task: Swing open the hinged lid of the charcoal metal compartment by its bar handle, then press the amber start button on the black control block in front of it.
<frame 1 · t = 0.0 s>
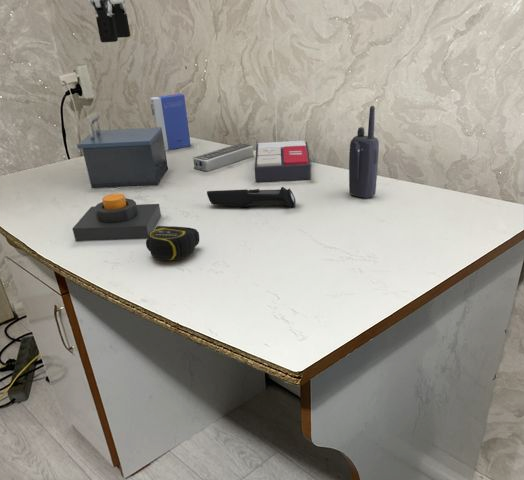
hand: (116, 39, 105), 25 cm above the table, tool pointing down, fingers open, 9 cm apart
compartment lid: (119, 126, 107), point 10 cm above the table, hinge at 0.0°
electric trimmer: (253, 207, 95), on the table
tape measure: (173, 254, 80), on the table
compartment: (131, 178, 113), on the table
start button: (114, 202, 87), point 4 cm above the table, slide at 0.1 cm
multiport hub: (224, 163, 119), on the table
control block: (120, 228, 90), on the table
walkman: (174, 148, 132), on the table
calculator: (282, 171, 112), on the table
two-way radio: (359, 197, 96), on the table
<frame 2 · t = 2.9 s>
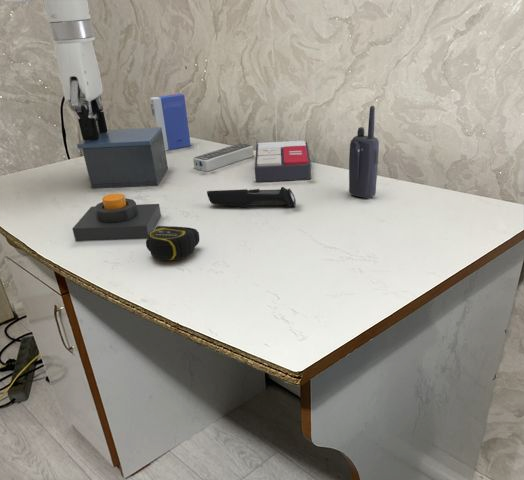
hand: (95, 135, 108), 9 cm above the table, tool pointing down, fingers closed on compartment lid, 5 cm apart
compartment lid: (119, 126, 107), point 10 cm above the table, hinge at 0.0°, touching gripper
everything else where it was.
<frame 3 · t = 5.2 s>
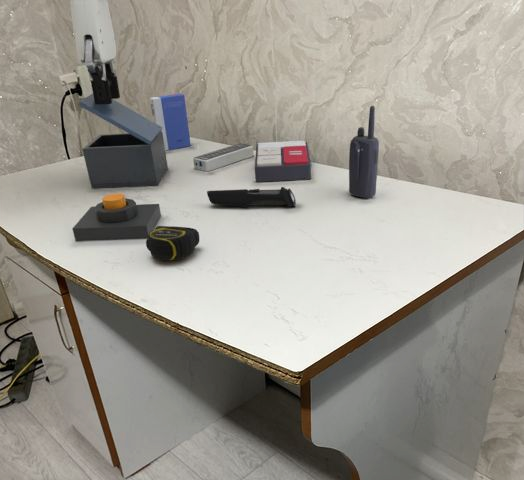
hand: (107, 100, 104), 15 cm above the table, tool pointing down, fingers closed on compartment lid, 5 cm apart
compartment lid: (126, 107, 105), point 14 cm above the table, hinge at 32.4°, touching gripper
everything else where it was.
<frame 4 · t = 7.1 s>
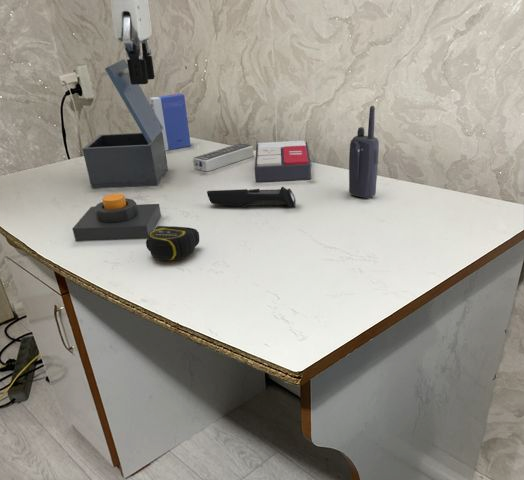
hand: (143, 80, 102), 18 cm above the table, tool pointing down, fingers closed on compartment lid, 5 cm apart
compartment lid: (145, 95, 104), point 16 cm above the table, hinge at 67.0°, touching gripper
everything else where it was.
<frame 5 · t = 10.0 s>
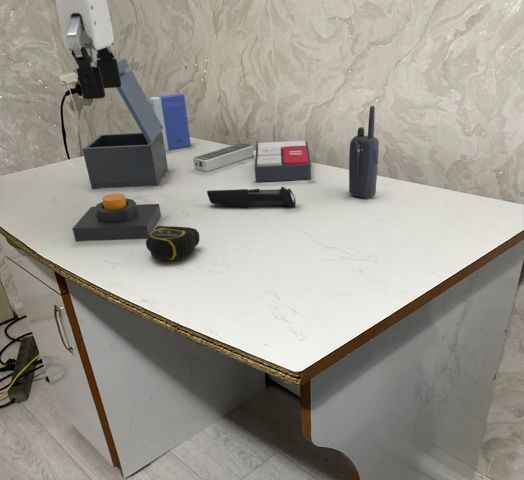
hand: (103, 92, 82), 20 cm above the table, tool pointing down, fingers open, 9 cm apart
compartment lid: (145, 95, 104), point 16 cm above the table, hinge at 67.6°
everything else where it was.
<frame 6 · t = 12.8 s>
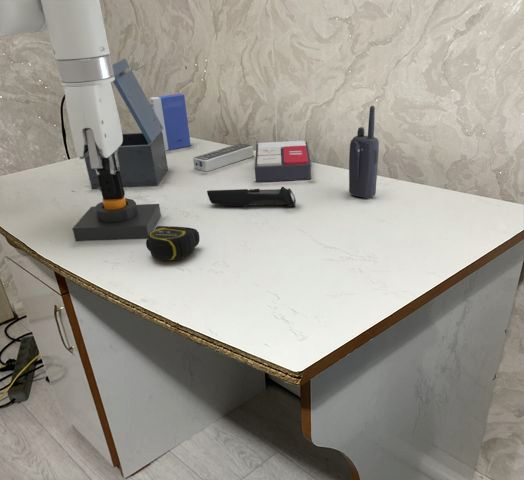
hand: (114, 197, 87), 5 cm above the table, tool pointing down, fingers closed
start button: (114, 202, 87), point 4 cm above the table, slide at -0.1 cm, touching gripper
everything else where it was.
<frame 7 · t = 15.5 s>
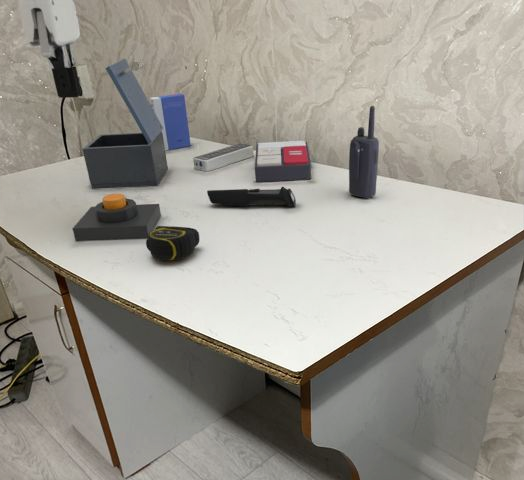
hand: (70, 96, 83), 20 cm above the table, tool pointing down, fingers closed
start button: (114, 202, 87), point 4 cm above the table, slide at 0.1 cm
everything else where it was.
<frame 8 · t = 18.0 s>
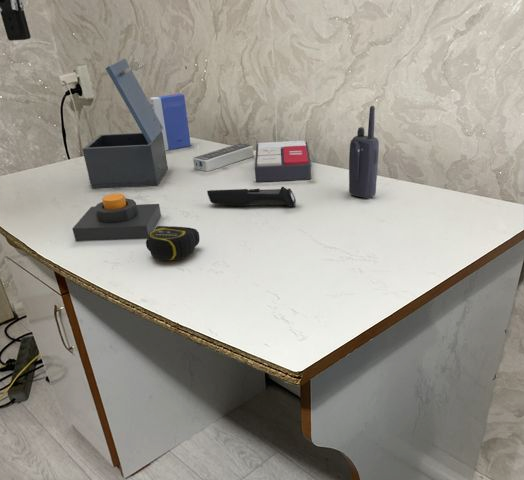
hand: (19, 39, 88), 27 cm above the table, tool pointing down, fingers closed
nothing on the table moved.
at the end: compartment lid at +68° (first picture: +0°); start button pushed in 1.2 cm at the most during the clip, back to where it started at the end; start button slide at 0.1 cm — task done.
